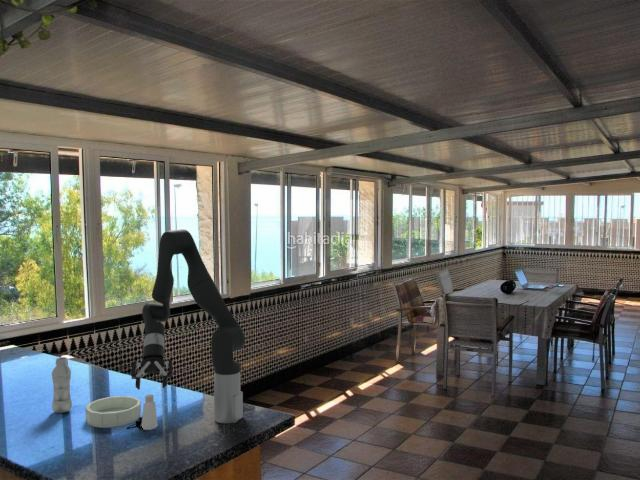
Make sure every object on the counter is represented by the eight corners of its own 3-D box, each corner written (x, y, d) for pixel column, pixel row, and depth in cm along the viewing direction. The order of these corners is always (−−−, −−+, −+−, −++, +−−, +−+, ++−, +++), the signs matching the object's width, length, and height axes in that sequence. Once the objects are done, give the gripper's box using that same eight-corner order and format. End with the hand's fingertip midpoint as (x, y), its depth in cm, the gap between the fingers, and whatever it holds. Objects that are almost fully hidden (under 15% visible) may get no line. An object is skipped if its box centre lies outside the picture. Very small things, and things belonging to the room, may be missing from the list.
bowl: (150, 412, 197) (150, 399, 197) (118, 430, 180) (118, 416, 180) (109, 407, 203) (109, 394, 203) (74, 424, 186) (74, 410, 185)
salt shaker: (161, 425, 185) (161, 394, 184) (150, 431, 180) (149, 399, 180) (149, 423, 187) (148, 392, 187) (137, 428, 182) (137, 396, 182)
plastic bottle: (64, 416, 193) (63, 361, 192) (47, 414, 195) (47, 360, 194) (75, 409, 199) (75, 356, 199) (59, 408, 201) (59, 355, 200)
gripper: (132, 343, 196) (128, 383, 185) (173, 342, 199) (171, 381, 188) (134, 354, 201) (131, 394, 190) (173, 352, 204) (172, 391, 194)
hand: (151, 387), depth 189 cm, fingers open, 8 cm apart
